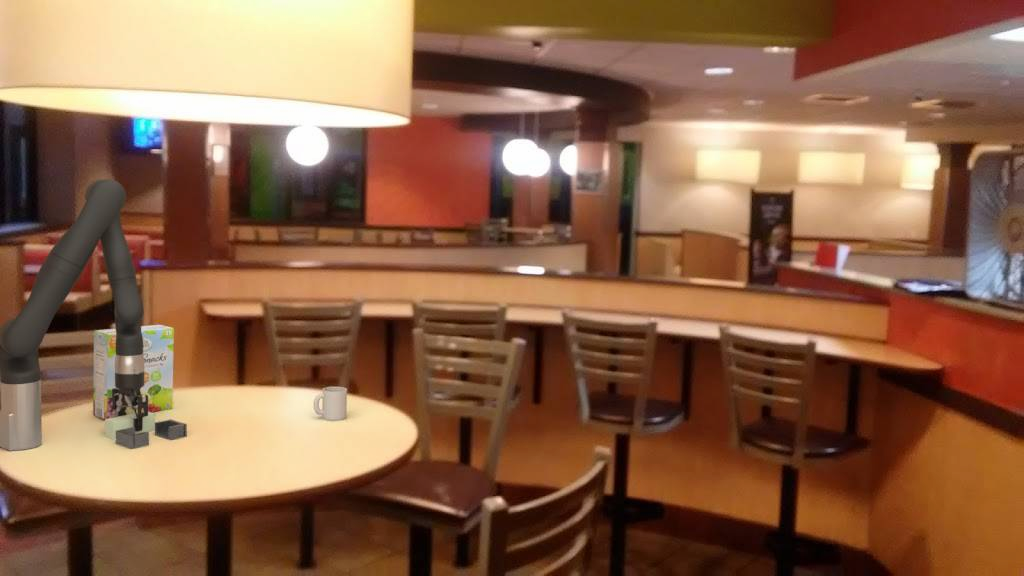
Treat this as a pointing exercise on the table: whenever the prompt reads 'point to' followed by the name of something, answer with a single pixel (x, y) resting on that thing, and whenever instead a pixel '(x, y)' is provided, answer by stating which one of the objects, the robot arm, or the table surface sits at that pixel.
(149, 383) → the snack box
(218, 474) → the table surface
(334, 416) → the cup
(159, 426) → the end cap
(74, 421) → the table surface
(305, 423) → the table surface
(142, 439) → the end cap
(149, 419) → the slat
